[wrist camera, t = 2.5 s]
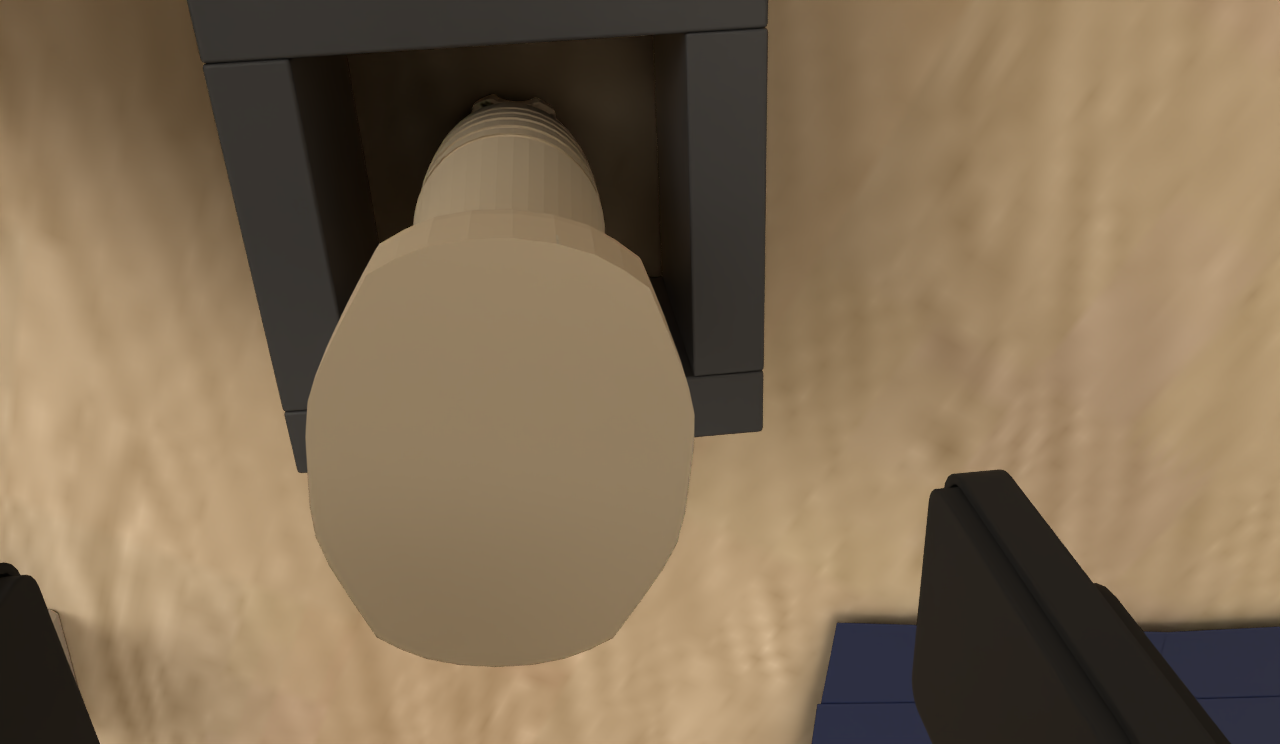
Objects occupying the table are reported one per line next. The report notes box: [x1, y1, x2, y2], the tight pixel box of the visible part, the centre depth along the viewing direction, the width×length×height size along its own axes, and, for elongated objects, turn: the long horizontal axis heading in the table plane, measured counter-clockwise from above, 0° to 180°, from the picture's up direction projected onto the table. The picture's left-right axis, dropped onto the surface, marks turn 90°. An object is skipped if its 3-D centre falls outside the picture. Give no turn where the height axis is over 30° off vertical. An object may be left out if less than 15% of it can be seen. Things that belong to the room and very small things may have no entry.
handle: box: [305, 94, 695, 667], centre depth 20 cm, size 5×6×15 cm
